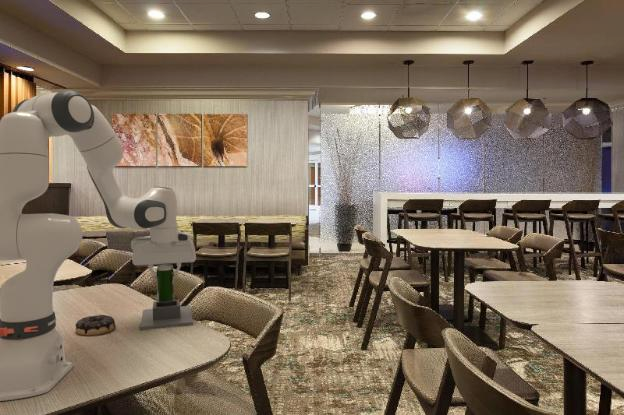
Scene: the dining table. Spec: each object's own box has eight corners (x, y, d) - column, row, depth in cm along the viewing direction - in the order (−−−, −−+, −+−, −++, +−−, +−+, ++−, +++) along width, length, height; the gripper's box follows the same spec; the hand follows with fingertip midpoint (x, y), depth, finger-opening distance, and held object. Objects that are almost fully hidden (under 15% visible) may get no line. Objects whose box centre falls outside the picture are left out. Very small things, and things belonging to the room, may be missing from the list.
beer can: (160, 304, 158) (158, 268, 157) (155, 300, 163) (154, 265, 162) (176, 301, 161) (175, 266, 160) (171, 297, 166) (170, 263, 165)
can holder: (193, 324, 155) (192, 309, 154) (140, 330, 150) (139, 314, 150) (190, 308, 174) (190, 294, 174) (143, 312, 169) (142, 298, 169)
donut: (99, 323, 158) (99, 311, 158) (123, 329, 152) (123, 316, 152) (67, 333, 149) (67, 320, 149) (92, 339, 143) (91, 326, 142)
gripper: (129, 238, 154) (131, 281, 155) (195, 235, 160) (196, 276, 161) (131, 235, 160) (132, 276, 161) (194, 233, 166) (195, 272, 167)
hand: (165, 276), depth 161 cm, fingers closed on beer can, 5 cm apart
